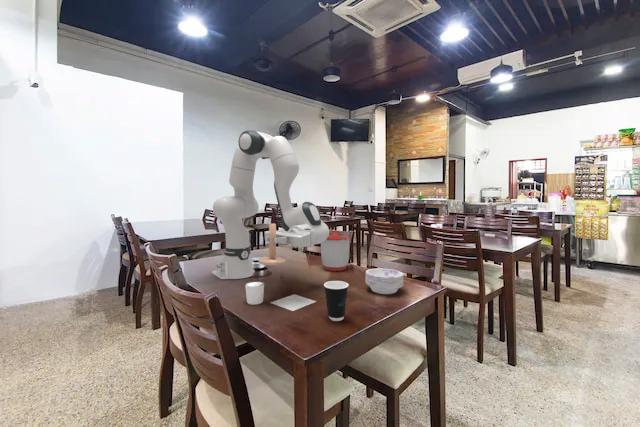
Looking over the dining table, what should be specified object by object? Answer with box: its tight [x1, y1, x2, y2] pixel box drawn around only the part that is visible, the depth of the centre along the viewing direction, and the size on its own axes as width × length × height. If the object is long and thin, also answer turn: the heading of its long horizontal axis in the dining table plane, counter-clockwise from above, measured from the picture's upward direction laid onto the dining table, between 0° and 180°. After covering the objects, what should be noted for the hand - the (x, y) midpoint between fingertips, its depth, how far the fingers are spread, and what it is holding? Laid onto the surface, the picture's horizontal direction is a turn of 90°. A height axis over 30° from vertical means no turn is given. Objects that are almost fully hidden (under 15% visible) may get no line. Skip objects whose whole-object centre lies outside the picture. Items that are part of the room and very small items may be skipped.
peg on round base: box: [258, 223, 287, 266], centre depth 108 cm, size 10×10×14 cm
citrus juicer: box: [320, 231, 350, 272], centre depth 159 cm, size 16×17×20 cm
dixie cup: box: [323, 280, 350, 322], centre depth 95 cm, size 8×8×11 cm
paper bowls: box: [365, 267, 404, 295], centre depth 122 cm, size 15×15×8 cm
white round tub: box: [244, 281, 265, 306], centre depth 110 cm, size 7×7×7 cm
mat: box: [270, 294, 317, 312], centre depth 109 cm, size 12×12×1 cm
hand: (270, 240), depth 108 cm, fingers closed on peg on round base, 2 cm apart
